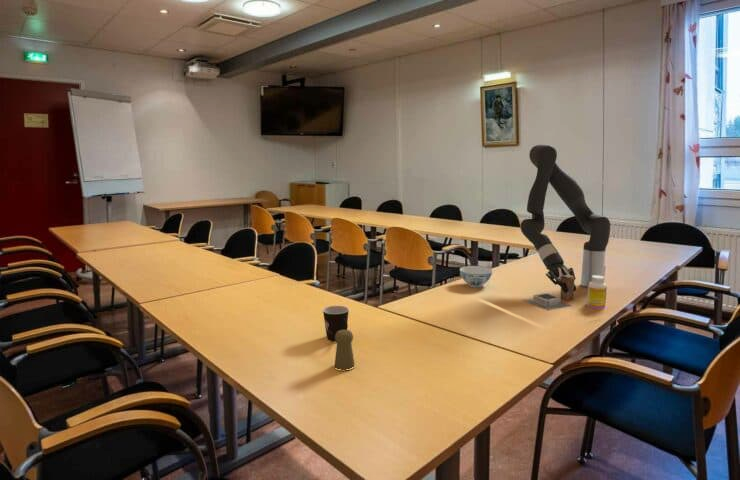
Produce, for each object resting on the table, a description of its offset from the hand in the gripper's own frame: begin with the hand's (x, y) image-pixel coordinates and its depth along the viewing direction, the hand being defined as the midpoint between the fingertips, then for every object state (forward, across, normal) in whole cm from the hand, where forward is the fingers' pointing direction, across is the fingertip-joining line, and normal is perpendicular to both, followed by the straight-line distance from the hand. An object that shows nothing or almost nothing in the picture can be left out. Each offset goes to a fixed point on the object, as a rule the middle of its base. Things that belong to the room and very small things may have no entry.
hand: (571, 291), depth 190 cm
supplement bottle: (+10, +4, -3) cm, 11 cm away
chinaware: (-23, -19, +31) cm, 43 cm away
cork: (+14, -106, -6) cm, 107 cm away
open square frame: (+2, -11, +4) cm, 12 cm away
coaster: (+2, -11, +5) cm, 12 cm away
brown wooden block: (+2, 0, +5) cm, 5 cm away
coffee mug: (0, -101, +8) cm, 101 cm away
